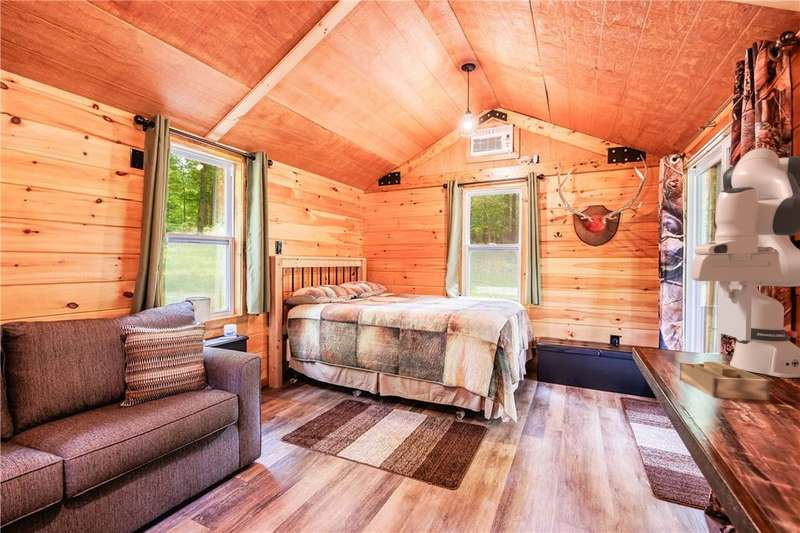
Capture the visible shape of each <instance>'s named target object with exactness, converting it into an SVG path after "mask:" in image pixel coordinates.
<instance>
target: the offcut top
mask: <svg viewBox="0 0 800 533" xmlns="http://www.w3.org/2000/svg"><path fill="white" fill-rule="evenodd" d="M703 364H704V368H706V369H709V370H711V371H713V372H716V373H718V374H720V375H723V376H725V377H727V378H737V369H734V368H732V367H729V366H726V365H727V364H725V365H724V363H721V362H719V361H717V362H716V361H703Z"/></svg>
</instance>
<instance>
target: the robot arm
mask: <svg viewBox="0 0 800 533" xmlns="http://www.w3.org/2000/svg"><path fill="white" fill-rule="evenodd" d="M721 187H722V189H723V190H721V191H720V192H719V194H718V196H717V199H716V204H715V205H716V206H715V211H714V212H713V228H714V229H715V230H716V232H715V233H714V240H713V241H710V242H707V243H703V244H700V245H697V246H695V247H694V248H693V251H694V253H695V254H696V255H694V256H693V258H692V261H691V268H690V277H691V278H692V279H693V281H695V282H719V287H721V288H722V289H723V291H724V297H725V298H734V292H733V291H731V290H730V288H732V289H740V290H747V291H752V311H751V341H745V340H742V339H739V338H735V346H734V351H733V353H732V354H733V355H732V358H731V360H730V361H729V365H731V366H733V367H736V368H739V369H741V370H744V371H746V372H749V373H757V374H762V375H768V376H772V377H773V376H774V377H777V378H778V377H779V378H784V379H785V378H786V379H787V378H789V379H790V378H800V347H798V346H797V345H796V344H795V343H793V342H791V341H790V338H789V337H791V338H796V339H797V337H798V336H799V333H798V332H797V331H793V330H786V329H785V328H784V320H785V319H784V316H785V308H784V305H783V304H782V303H781V302H780V301H779V300H777V299H775V298H773V297H771V296H769V295H766V294H763V293H761V291H759V289H758V287H760V286H761V287H762V286H763V287H764V286H766V287H767V286H768V287H800V249H799V248H797V247H796V245H794V244H793V242H792V241H791V239H790V237H791V236H795V235H797V234H799V233H800V155H790V156H789V157H780V158H779V156H778V153H777V152H775V151H774V150H772V149H770V148H765V147H760V148H753V149H752V150H750V151H748V152H746V153H745V154H743V156H742V157H740V159H739V161H737V163H736V164H735V165H733V166H732V167H730V168H728V169H727V170H725V171H724V172H723V175H722V178H721Z"/></svg>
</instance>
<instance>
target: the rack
mask: <svg viewBox="0 0 800 533" xmlns="http://www.w3.org/2000/svg"><path fill="white" fill-rule="evenodd" d="M723 364H724V363H723ZM724 365H726V366H729V367H732V368H734V369H737V378H727V377H725V376H723V375H720V374H718V373H716V372H713V371H711V370H709V369H706V368H704V363H696V362H694V363H693V362H692V363H691V362H679V381H682V382H683V383H685V384H687V385H688V386H691V387H693V388H695V389H697V390H698V391H701V392H703V393H704V394H707V395H709V396H710V397H712V398H714V399H715V398H717V399H718V398H719V399H737V400H758V401H759V400H761V401H771V400H770V398H771V396H770V395H771V380H770V379H768V378H764V377H762V376H760V375H757V374H754V373H753V372H750V371H746V370H742V369H739V368H736V367H733V366H731V365H730V364H726V363H725V364H724Z"/></svg>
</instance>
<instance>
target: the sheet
mask: <svg viewBox="0 0 800 533" xmlns="http://www.w3.org/2000/svg"><path fill="white" fill-rule="evenodd" d="M730 290H731V291H733V292H734V298H725V297H724V291H723V289H722V288H721V286H719V287H718V308H717V309H718V310H717V311H718V312H717V333H719V334H721V335H722V334H723V335H726V336H729V337H732V338H735V339H736V338H739V339H742V340H745V341H751V311H752V291H747V290H740V289H732V288H730Z"/></svg>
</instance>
